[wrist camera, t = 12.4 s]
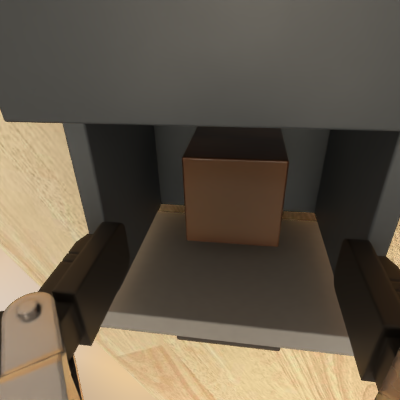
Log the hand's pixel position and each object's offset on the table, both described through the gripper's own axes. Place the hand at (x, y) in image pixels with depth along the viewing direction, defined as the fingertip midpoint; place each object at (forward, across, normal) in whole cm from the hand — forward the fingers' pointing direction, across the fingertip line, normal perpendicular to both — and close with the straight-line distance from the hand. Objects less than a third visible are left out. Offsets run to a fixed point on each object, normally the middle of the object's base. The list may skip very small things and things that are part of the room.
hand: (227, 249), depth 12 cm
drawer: (+9, 0, +1) cm, 9 cm away
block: (+8, 0, 0) cm, 8 cm away
